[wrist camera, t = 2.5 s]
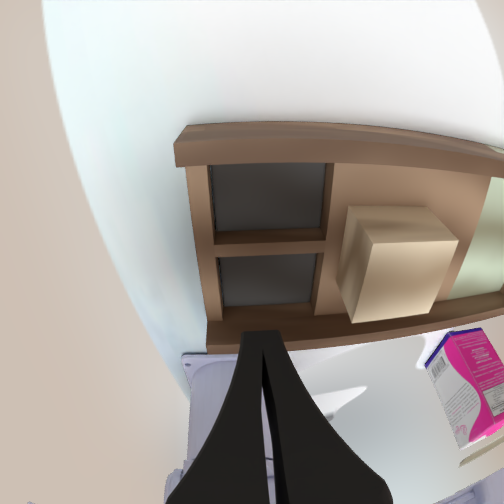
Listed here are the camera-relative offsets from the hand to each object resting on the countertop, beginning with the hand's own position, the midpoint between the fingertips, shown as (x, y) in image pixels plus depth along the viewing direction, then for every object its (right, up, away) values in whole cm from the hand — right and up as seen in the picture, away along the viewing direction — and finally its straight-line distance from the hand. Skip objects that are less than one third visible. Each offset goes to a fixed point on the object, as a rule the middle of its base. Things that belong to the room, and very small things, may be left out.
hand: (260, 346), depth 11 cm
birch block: (+7, +4, +5) cm, 10 cm away
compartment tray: (+10, +5, +7) cm, 13 cm away
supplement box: (+22, -7, +16) cm, 28 cm away
